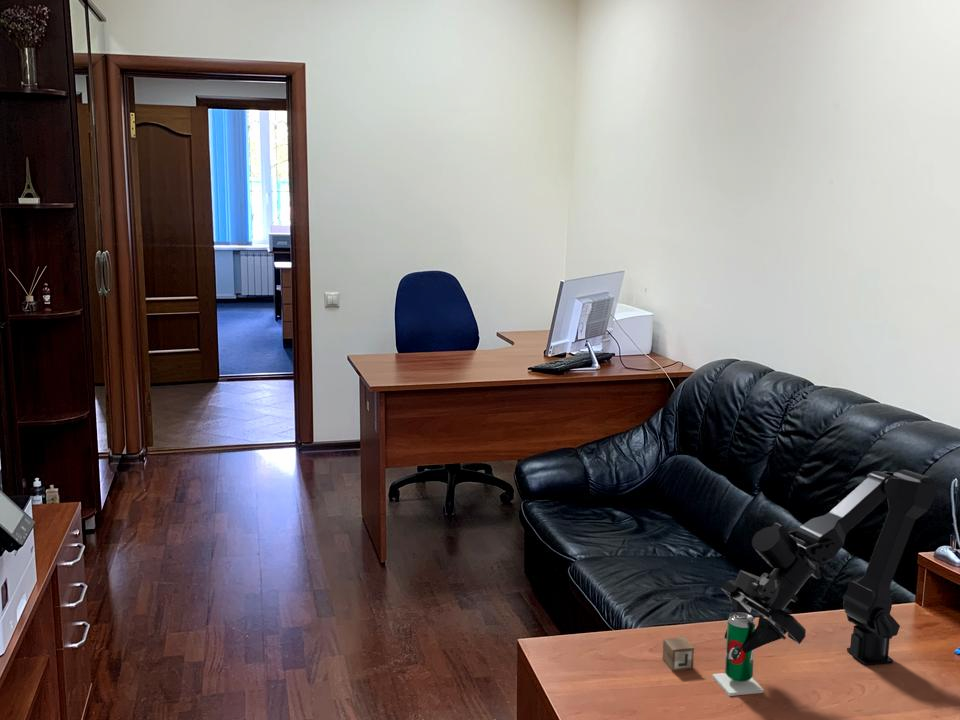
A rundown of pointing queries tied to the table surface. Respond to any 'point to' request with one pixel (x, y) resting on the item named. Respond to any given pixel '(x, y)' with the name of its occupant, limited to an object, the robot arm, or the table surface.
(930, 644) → the table surface
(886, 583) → the robot arm
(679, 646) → the letter cube
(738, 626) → the soda can
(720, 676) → the coaster
